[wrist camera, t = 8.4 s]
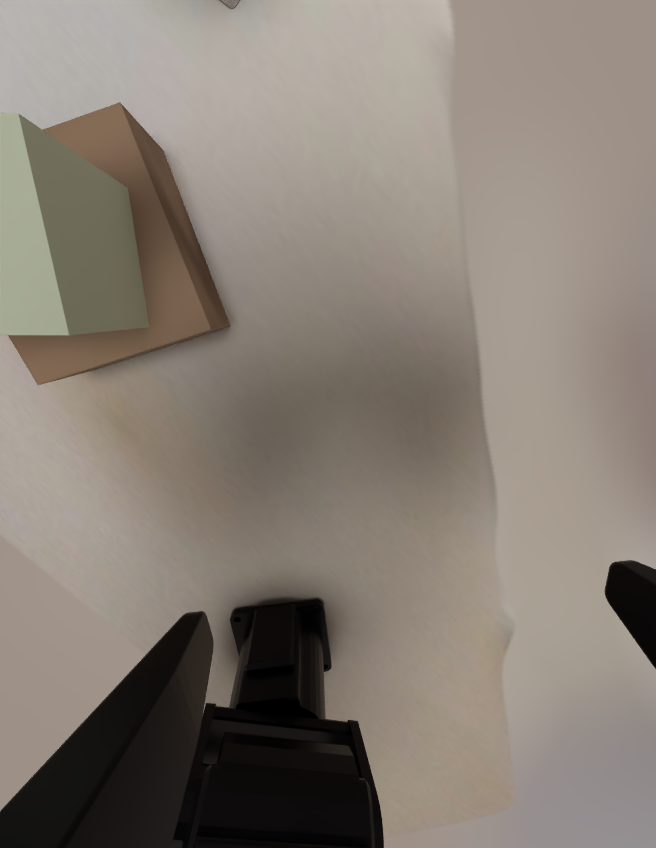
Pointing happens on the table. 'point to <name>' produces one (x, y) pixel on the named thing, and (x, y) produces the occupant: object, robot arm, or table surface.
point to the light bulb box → (230, 3)
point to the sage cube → (63, 240)
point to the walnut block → (157, 249)
